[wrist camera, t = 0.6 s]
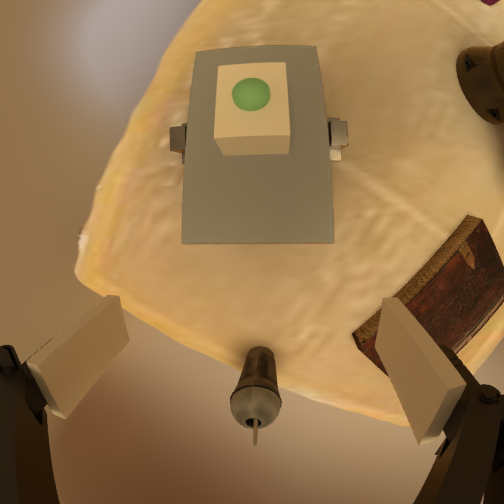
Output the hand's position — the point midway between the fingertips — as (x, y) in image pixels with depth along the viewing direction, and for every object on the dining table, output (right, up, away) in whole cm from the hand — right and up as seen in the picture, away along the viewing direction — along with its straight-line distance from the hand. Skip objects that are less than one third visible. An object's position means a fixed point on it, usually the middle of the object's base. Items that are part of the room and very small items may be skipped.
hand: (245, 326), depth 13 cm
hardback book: (+34, -6, +29) cm, 45 cm away
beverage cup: (+2, -15, +34) cm, 37 cm away
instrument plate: (+1, +17, +18) cm, 25 cm away
